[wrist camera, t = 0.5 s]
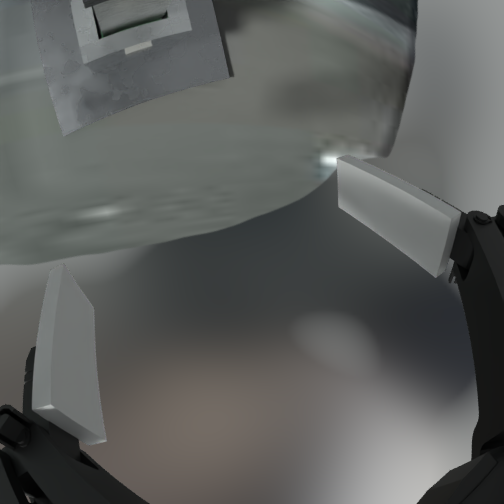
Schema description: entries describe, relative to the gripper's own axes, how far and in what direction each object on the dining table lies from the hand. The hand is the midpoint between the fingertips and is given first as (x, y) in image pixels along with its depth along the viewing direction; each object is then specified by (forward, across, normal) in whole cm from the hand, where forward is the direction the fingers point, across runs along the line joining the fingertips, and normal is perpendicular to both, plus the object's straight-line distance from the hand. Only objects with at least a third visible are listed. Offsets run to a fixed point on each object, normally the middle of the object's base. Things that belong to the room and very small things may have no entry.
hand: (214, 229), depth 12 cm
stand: (+28, 0, +15) cm, 32 cm away
